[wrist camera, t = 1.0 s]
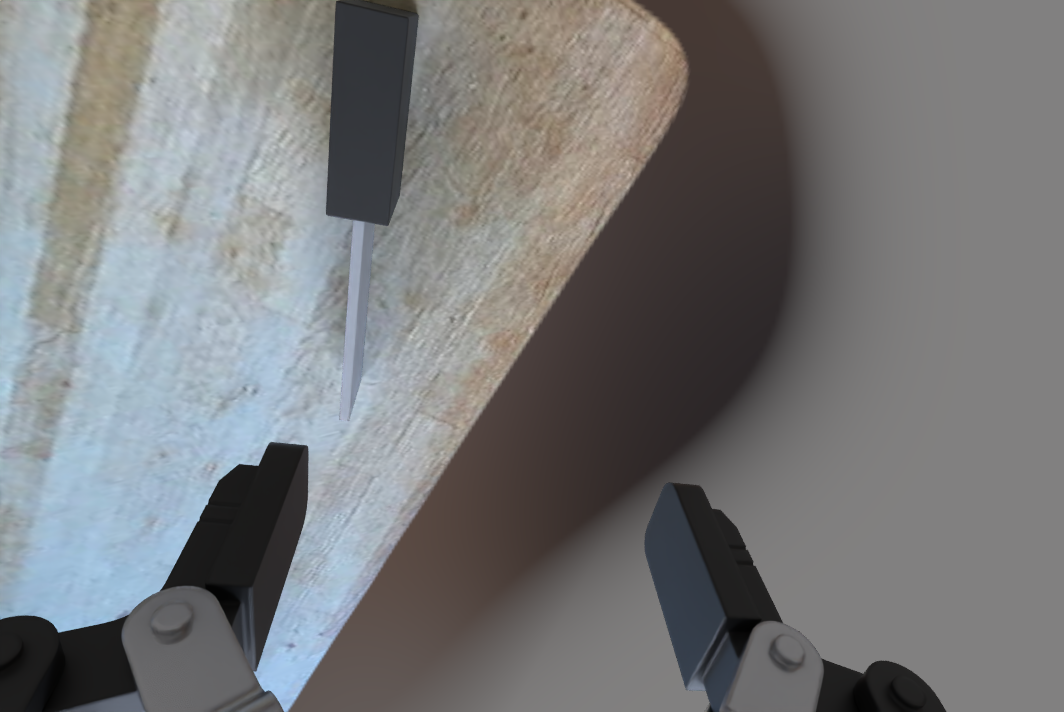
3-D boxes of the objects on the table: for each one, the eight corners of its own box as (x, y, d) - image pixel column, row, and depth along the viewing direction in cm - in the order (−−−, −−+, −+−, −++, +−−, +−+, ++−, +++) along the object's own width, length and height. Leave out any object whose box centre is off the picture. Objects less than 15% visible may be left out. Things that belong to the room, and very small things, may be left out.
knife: (356, -1, 26) (335, -1, 22) (419, 13, 26) (409, 17, 22) (333, 376, 35) (315, 423, 31) (379, 382, 35) (368, 430, 31)
